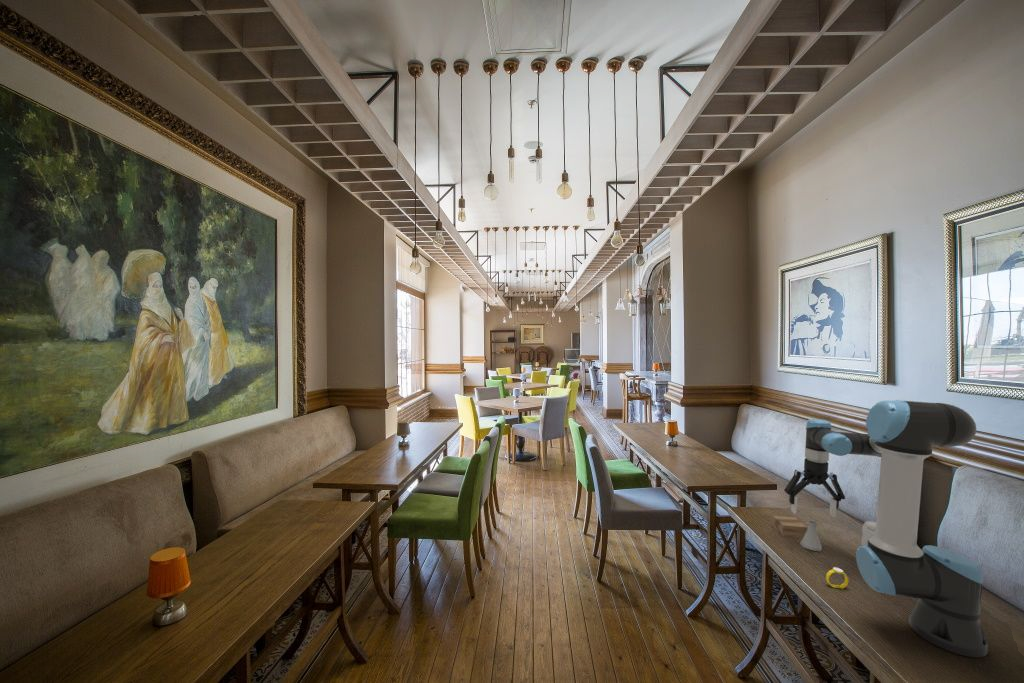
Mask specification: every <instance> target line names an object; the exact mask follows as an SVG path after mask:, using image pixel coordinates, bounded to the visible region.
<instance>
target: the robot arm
mask: <svg viewBox="0 0 1024 683" xmlns="http://www.w3.org/2000/svg"><path fill="white" fill-rule="evenodd" d="M865 427H866V429H867V433H858V432H848V431H847V432H845V431H835V430H832V424H831V422H830V421H829V420H826V419H820V418H819V419H817V418H809V419H807V421H806V427H805V449H804V462H803V463H804V464H803V469H804V470H803V471H800V470H798V469H795V470H794V471H793V473H794V474H793V475H792V477H791V479H790V480H789V482H788V483H787V484H786V485H785V486H786V487H784V490H783V491H784V493H786V495H788V496H789V497H788V498H789V499H788V501H789V503H790V506H791V507H790V511H791V512H792V513H793V514H795V515H796V514H797V512H798V510H797V509H798V496H797V494H799V493H800V492H801V491H802V490H804V489H805V488H806V487H807V486H809V485H810V484H811V485H819V486H820V485H822V486H823V487H824V488H825V489H826V491H828V493H829V494H830V496H831V497H830V500H829V516H831V517H832V518H836V517H837V509H839V506H840V502H842V500H846V496H845V494H844V492H843V489H842V488H841V486H840V484H839V481H838V476H837V474H835V473H834V472H830V473H828V471H829V461H830V459H829V458H830V454H832V455H835V456H838V457H844V456H846V455H855V456H856V455H857V456H858V455H861V456H871V457H879V458H880V469H879V470H880V471H879V482H878V483H879V484H878V495H877V506H876V508H877V509H876V520H875V522H876V531H875V534H872V535H870V536H869V537H868V544H867V546H865V545H863V546H861V545H860V546H858V548H856V552H855V559H856V560H855V561H856V564H857V568H858V570H859V573H860V575H861V577H862V579H863V580H864V581H865V583H866V584H867V585H868V586H869V587H870V588H871V589H872V590H874V591H875V592H877V593H881V594H882V593H883V594H886V595H887V594H888V595H890V596H900V597H909V598H915V599H916V598H917V599H918V600H917V602H916V604H915V605H914V607H913V610H912V611H911V612H910V613H909V616H908V617H909V618H908V619H909V620H908V624H909V627H910V628H911V630H913V632H915V634H916V635H918V636H920V638H922V639H924V640H925V641H927V642H928V643H930V644H932V645H935V646H936V647H939V648H940V649H943V650H945V651H947V652H949V653H950V652H951V653H953V654H957V655H960V656H965V657H968V658H976V659H977V658H979V659H980V658H984V657H986V656H987V655H988V650H989V649H988V646H989V645H988V642H987V637H986V635H985V633H984V630H983V627H982V623H981V620H980V619H981V605H982V593H983V585H984V576H983V575H984V574H983V573H984V572H983V569H982V567H981V566H980V565H979V564H978V563H976V562H975V561H973V560H971V559H970V558H968V557H967V556H965V555H962V554H960V553H958V552H955V551H953V550H949V549H946V548H943V547H941V546H936V545H931V544H930V545H923V547H922V548H920V547H919V545H918V544H917V543H918V542H917V541H918V530H919V520H920V508H921V507H920V506H921V493H922V482H923V472H924V471H923V470H924V460H925V459H927V458H929V457H931V456H932V455H933V449H934V448H933V447H938V448H942V449H943V448H944V449H945V448H953V447H961V446H964V445H966V444H968V443H970V442H972V441H973V439H974V438H975V436H976V434H977V424H976V422H975V420H974V418H973V417H972V416H971V415H970V414H969V413H968V412H967V411H965V409H963V408H960V407H958V406H956V405H955V404H954V405H953V404H948V403H943V402H925V401H924V402H923V401H912V400H911V401H910V400H900V399H895V400H880V401H878V402H876V403H875V404H874V405H872V407H871V408H870V409H869V411H868V413H867V416H866V420H865ZM803 476H804V477H803ZM802 477H803V478H802ZM828 478H829V479H830V482H831V484H832V486H833V488H834V489H833V488H832V487H831V486H830V484H829V483H828V482H827V480H828ZM800 479H801V480H800ZM834 490H835V491H834Z"/></svg>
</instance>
